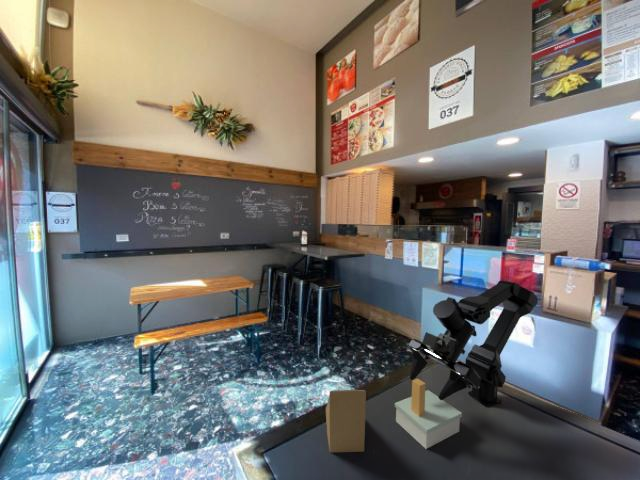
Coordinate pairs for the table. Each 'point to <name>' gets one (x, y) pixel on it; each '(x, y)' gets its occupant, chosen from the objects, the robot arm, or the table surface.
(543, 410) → the table surface
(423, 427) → the lid
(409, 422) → the tub
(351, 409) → the sandwich container
